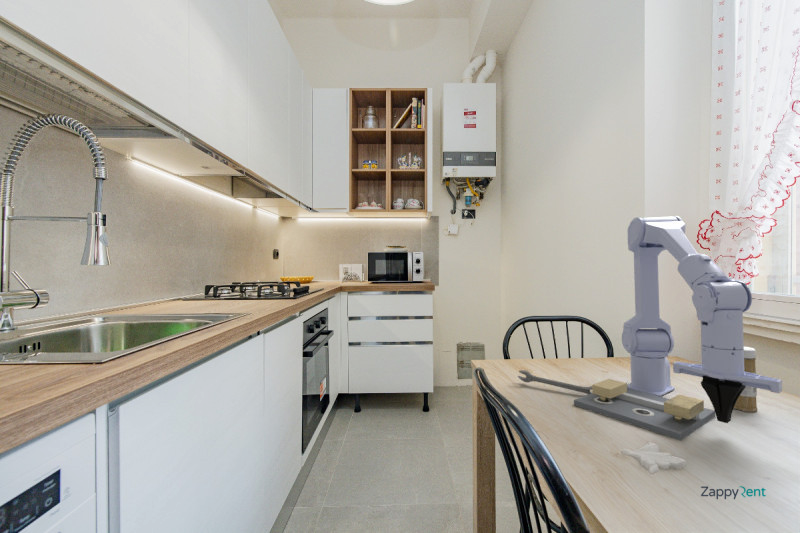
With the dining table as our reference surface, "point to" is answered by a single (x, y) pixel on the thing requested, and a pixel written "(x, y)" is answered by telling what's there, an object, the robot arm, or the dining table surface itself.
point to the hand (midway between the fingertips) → (723, 420)
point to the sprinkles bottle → (749, 393)
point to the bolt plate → (639, 409)
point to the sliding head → (683, 407)
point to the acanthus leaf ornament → (655, 458)
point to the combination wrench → (553, 382)
